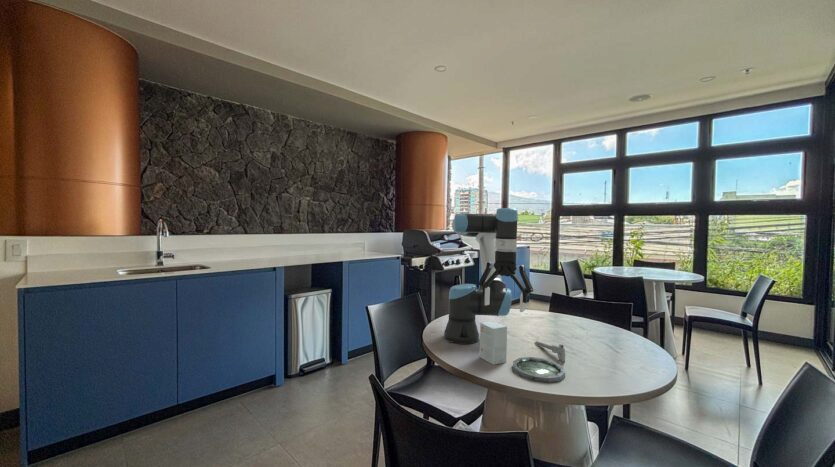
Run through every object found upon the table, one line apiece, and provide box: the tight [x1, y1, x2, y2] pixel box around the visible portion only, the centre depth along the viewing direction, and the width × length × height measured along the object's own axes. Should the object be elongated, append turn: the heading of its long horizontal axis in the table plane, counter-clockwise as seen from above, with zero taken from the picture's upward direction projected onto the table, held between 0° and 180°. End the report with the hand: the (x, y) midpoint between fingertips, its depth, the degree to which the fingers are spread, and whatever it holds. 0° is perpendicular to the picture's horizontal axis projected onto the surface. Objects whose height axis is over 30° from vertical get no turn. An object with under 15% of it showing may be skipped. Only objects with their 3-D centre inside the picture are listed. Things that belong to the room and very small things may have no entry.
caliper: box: [534, 340, 566, 363], centre depth 132 cm, size 20×1×6 cm, turn 9°
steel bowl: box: [512, 356, 566, 384], centre depth 114 cm, size 16×16×2 cm
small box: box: [479, 320, 508, 365], centre depth 123 cm, size 8×6×13 cm
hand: (504, 308), depth 123 cm, fingers open, 13 cm apart
